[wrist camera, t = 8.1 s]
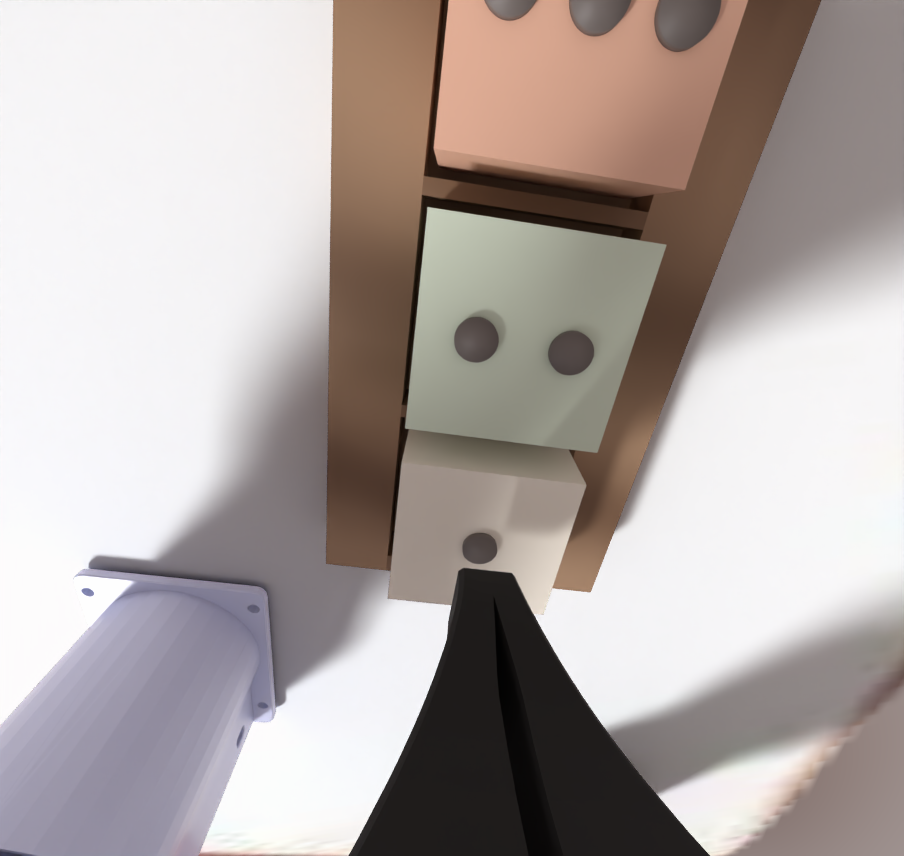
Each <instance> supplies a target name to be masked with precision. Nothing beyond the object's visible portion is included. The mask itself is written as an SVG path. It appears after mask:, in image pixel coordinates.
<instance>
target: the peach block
mask: <svg viewBox="0 0 904 856" xmlns="http://www.w3.org/2000/svg"><path fill="white" fill-rule="evenodd" d="M747 2H748V0H449V2H448V12H447V22H446V32H445V42H444V51H443V61H442V71H441V81H440V91H439V101H438V110H437V120H436V130H435V140H434V152H435V155H436V159H437V163H438V167H439V169H445V170H451V171H457V172H463V173H469V174H475V175H481V176H488V177H494V178H500V179H506V180H512V181H518V182H524V183H530V184H536V185H543V186H549V187H555V188H561V189H567V190H573V191H579V192H585V193H592V194H598V195H604V196H610V197H616V198H622V199H629V198H636V197H642V196H649V195H655V194H662V193H669V192H675V191H682V190H685V188H686V185H687V182H688V179H689V176H690V173H691V170H692V167H693V164H694V161H695V158H696V155H697V152H698V149H699V146H700V143H701V140H702V137H703V134H704V131H705V128H706V125H707V122H708V119H709V116H710V113H711V110H712V107H713V104H714V101H715V98H716V95H717V92H718V89H719V86H720V83H721V80H722V77H723V74H724V71H725V68H726V65H727V62H728V59H729V56H730V53H731V50H732V47H733V44H734V41H735V38H736V35H737V32H738V29H739V26H740V23H741V20H742V17H743V14H744V11H745V8H746V5H747Z"/></svg>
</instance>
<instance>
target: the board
mask: <svg viewBox="0 0 904 856" xmlns="http://www.w3.org/2000/svg"><path fill="white" fill-rule="evenodd" d="M448 2H449V0H333V70H332V148H331V226H330V304H329V382H328V460H327V538H326V564H333V565H342V566H351V567H361V568H370V569H379V570H388V571H391V562H392V552H393V542H394V532H395V522H396V513H397V503H398V493H399V483H400V473H401V464H402V458H403V454H404V449H405V445H406V440H407V436H408V431H409V429H405V424H406V415H407V405H408V395H409V385H410V375H411V365H412V356H413V346H414V336H415V326H416V316H417V307H418V297H419V287H420V277H421V267H422V258H423V248H424V238H425V228H426V218H427V208H428V207H431V208H437V209H444V210H450V211H456V212H463V213H469V214H475V215H482V216H488V217H494V218H501V219H507V220H513V221H520V222H526V223H532V224H539V225H545V226H551V227H558V228H564V229H570V230H577V231H583V232H589V233H596V234H602V235H608V236H615V237H621V238H627V239H634V240H640V241H646V242H653V243H659V244H665V245H666V248H665V251H664V254H663V257H662V260H661V263H660V266H659V269H658V272H657V275H656V278H655V281H654V284H653V287H652V290H651V293H650V296H649V299H648V302H647V305H646V308H645V311H644V314H643V317H642V320H641V323H640V326H639V329H638V332H637V335H636V338H635V341H634V344H633V347H632V350H631V353H630V356H629V359H628V362H627V365H626V368H625V371H624V374H623V377H622V380H621V383H620V386H619V389H618V392H617V395H616V398H615V401H614V404H613V407H612V410H611V413H610V416H609V419H608V422H607V425H606V428H605V431H604V434H603V437H602V440H601V443H600V446H599V449H598V452H597V453H594V452H586V451H578V450H570V449H568V450H569V452H570V453H571V455H572V457H573V459H574V461H575V463H576V465H577V467H578V469H579V471H580V473H581V475H582V477H583V479H584V481H585V483H586V488H585V491H584V494H583V497H582V500H581V503H580V506H579V509H578V512H577V515H576V518H575V521H574V524H573V527H572V530H571V533H570V536H569V539H568V542H567V545H566V548H565V551H564V554H563V557H562V560H561V563H560V566H559V569H558V572H557V575H556V578H555V581H554V584H553V587H552V588H555V589H565V590H574V591H583V592H591V590H592V587H593V585H594V582H595V580H596V577H597V574H598V572H599V569H600V567H601V564H602V562H603V559H604V556H605V554H606V551H607V549H608V546H609V544H610V541H611V539H612V536H613V533H614V531H615V528H616V526H617V523H618V521H619V518H620V515H621V513H622V510H623V508H624V505H625V503H626V500H627V497H628V495H629V492H630V490H631V487H632V485H633V482H634V480H635V477H636V474H637V472H638V469H639V467H640V464H641V462H642V459H643V456H644V454H645V451H646V449H647V446H648V444H649V441H650V438H651V436H652V433H653V431H654V428H655V426H656V423H657V421H658V418H659V415H660V413H661V410H662V408H663V405H664V403H665V400H666V397H667V395H668V392H669V390H670V387H671V385H672V382H673V379H674V377H675V374H676V372H677V369H678V367H679V364H680V362H681V359H682V356H683V354H684V351H685V349H686V346H687V344H688V341H689V338H690V336H691V333H692V331H693V328H694V326H695V323H696V320H697V318H698V315H699V313H700V310H701V308H702V305H703V302H704V300H705V297H706V295H707V292H708V290H709V287H710V285H711V282H712V279H713V277H714V274H715V272H716V269H717V267H718V264H719V261H720V259H721V256H722V254H723V251H724V249H725V246H726V243H727V241H728V238H729V236H730V233H731V231H732V228H733V226H734V223H735V220H736V218H737V215H738V213H739V210H740V208H741V205H742V202H743V200H744V197H745V195H746V192H747V190H748V187H749V184H750V182H751V179H752V177H753V174H754V172H755V169H756V167H757V164H758V161H759V159H760V156H761V154H762V151H763V149H764V146H765V143H766V141H767V138H768V136H769V133H770V131H771V128H772V125H773V123H774V120H775V118H776V115H777V113H778V110H779V108H780V105H781V102H782V100H783V97H784V95H785V92H786V90H787V87H788V84H789V82H790V79H791V77H792V74H793V72H794V69H795V66H796V64H797V61H798V59H799V56H800V54H801V51H802V49H803V46H804V43H805V41H806V38H807V36H808V33H809V31H810V28H811V25H812V23H813V20H814V18H815V15H816V13H817V10H818V7H819V5H820V2H821V0H748V2H747V5H746V8H745V11H744V14H743V17H742V20H741V23H740V26H739V29H738V32H737V35H736V38H735V41H734V44H733V47H732V50H731V53H730V56H729V59H728V62H727V65H726V68H725V71H724V74H723V77H722V80H721V83H720V86H719V89H718V92H717V95H716V98H715V101H714V104H713V107H712V110H711V113H710V116H709V119H708V122H707V125H706V128H705V131H704V134H703V137H702V140H701V143H700V146H699V149H698V152H697V155H696V158H695V161H694V164H693V167H692V170H691V173H690V176H689V179H688V182H687V185H686V188H685V190H682V191H675V192H669V193H662V194H655V195H649V196H642V197H636V198H629V199H622V198H616V197H610V196H604V195H598V194H592V193H585V192H579V191H573V190H567V189H561V188H555V187H549V186H543V185H536V184H530V183H524V182H518V181H512V180H506V179H500V178H494V177H488V176H481V175H475V174H469V173H463V172H457V171H451V170H445V169H439V167H438V163H437V159H436V155H435V152H434V140H435V130H436V120H437V110H438V101H439V91H440V81H441V71H442V61H443V51H444V42H445V32H446V22H447V12H448Z"/></svg>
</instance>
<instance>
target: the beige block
mask: <svg viewBox="0 0 904 856" xmlns="http://www.w3.org/2000/svg"><path fill="white" fill-rule="evenodd" d="M585 488H586V483H585V481H584V479H583V477H582V475H581V473H580V471H579V469H578V467H577V465H576V463H575V461H574V459H573V457H572V455H571V453H570V452H569V450H568V449H562V448H554V447H546V446H539V445H531V444H523V443H515V442H507V441H499V440H491V439H484V438H476V437H468V436H460V435H452V434H444V433H437V432H429V431H421V430H413V429H409V431H408V436H407V440H406V445H405V449H404V454H403V458H402V464H401V473H400V483H399V493H398V503H397V513H396V522H395V532H394V542H393V552H392V562H391V572H390V581H389V591H388V599H397V600H406V601H416V602H426V603H435V604H445V605H452V601H453V596H454V590H455V585H456V580H457V575H458V571H459V570H461V569H462V568H471V569H480V570H490V571H499V572H509V573H512V574H513V575H514V576H515V578H516V580H517V582H518V584H519V586H520V588H521V590H522V592H523V595H524V597H525V599H526V601H527V603H528V605H529V606H530V608H531V610H532V612H533V614H541V615H543V614H544V611H545V608H546V605H547V602H548V599H549V596H550V593H551V590H552V587H553V584H554V581H555V578H556V575H557V572H558V569H559V566H560V563H561V560H562V557H563V554H564V551H565V548H566V545H567V542H568V539H569V536H570V533H571V530H572V527H573V524H574V521H575V518H576V515H577V512H578V509H579V506H580V503H581V500H582V497H583V494H584V491H585Z"/></svg>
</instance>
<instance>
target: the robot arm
mask: <svg viewBox="0 0 904 856" xmlns="http://www.w3.org/2000/svg"><path fill="white" fill-rule="evenodd" d="M74 584H75V587H76V590H77V593H78V596H79V598H80V601H81V604H82V607H83V610H84V613H85V616H86V619H87V622H88V625H89V628H88V629H87V630H86V632H85V633H84V634H83V635H82V636H81V637H80V638H79V639H78V640H77V641H76V643H75V644H74V645H73V646H72V647H71V648H70V649H69V650H68V651H67V652H66V654H65V655H64V656H63V657H62V658H61V659H60V660H59V661H58V662H57V664H56V665H55V666H54V667H53V668H52V669H51V670H50V671H49V672H48V673H47V675H46V676H45V677H44V678H43V679H42V680H41V681H40V682H39V683H38V684H37V686H36V687H35V688H34V689H33V690H32V691H31V692H30V693H29V694H28V696H27V697H26V698H25V699H24V700H23V701H22V702H21V703H20V704H19V705H18V707H17V708H16V709H15V710H14V711H13V712H12V713H11V714H10V715H9V716H8V718H7V719H6V720H5V721H4V722H3V723H2V724H1V725H0V856H198V855H199V853H200V850H201V848H202V845H203V843H204V840H205V838H206V836H207V833H208V831H209V828H210V826H211V823H212V821H213V818H214V816H215V813H216V811H217V808H218V806H219V803H220V801H221V799H222V796H223V794H224V791H225V789H226V786H227V784H228V781H229V779H230V776H231V774H232V771H233V769H234V766H235V764H236V761H237V759H238V757H239V754H240V752H241V749H242V747H243V744H244V742H245V739H246V737H247V734H248V732H249V729H250V727H251V724H252V722H253V721H255V722H269V721H271V720H273V718H274V715H275V712H276V705H275V691H274V677H273V663H272V648H271V634H270V620H269V606H268V595H267V592H266V591H265V590H264V589H263V588H261V587H258V586H250V585H240V584H231V583H221V582H211V581H202V580H192V579H183V578H173V577H163V576H154V575H144V574H134V573H125V572H115V571H106V570H96V569H83V570H81V571H80V572H79V573H78V574H77V575H76V576H75V577H74ZM349 856H710V855H709V854H708V853H707V852H706V851H705V850H704V849H703V847H702V846H701V845H700V844H699V843H698V842H697V841H696V840H695V839H694V838H693V837H692V835H691V834H690V833H689V832H688V831H687V830H686V829H685V827H684V826H683V825H682V824H681V823H680V821H679V820H678V819H677V818H676V817H675V816H674V814H673V813H672V812H671V811H670V810H669V808H668V807H667V806H666V805H665V804H664V803H663V801H662V800H661V799H660V798H659V797H658V795H657V794H656V793H655V792H654V791H653V790H652V788H651V787H650V786H649V785H648V784H647V782H646V781H645V780H644V779H643V778H642V776H641V775H640V774H639V773H638V771H637V770H636V769H635V768H634V766H633V765H632V764H631V762H630V761H629V760H628V759H627V757H626V756H625V755H624V753H623V752H622V751H621V750H620V748H619V747H618V746H617V744H616V743H615V742H614V740H613V739H612V738H611V736H610V735H609V733H608V732H607V731H606V729H605V728H604V727H603V725H602V724H601V723H600V721H599V720H598V718H597V717H596V716H595V714H594V713H593V711H592V710H591V708H590V707H589V705H588V704H587V702H586V701H585V699H584V698H583V697H582V695H581V693H580V692H579V690H578V689H577V687H576V686H575V684H574V683H573V681H572V680H571V678H570V676H569V675H568V673H567V672H566V670H565V668H564V667H563V665H562V664H561V662H560V660H559V659H558V657H557V655H556V653H555V652H554V650H553V648H552V647H551V645H550V643H549V641H548V640H547V638H546V636H545V634H544V633H543V631H542V629H541V627H540V625H539V624H538V622H537V620H536V618H535V616H534V614H533V612H532V610H531V608H530V606H529V605H528V603H527V601H526V599H525V597H524V595H523V592H522V590H521V588H520V586H519V584H518V582H517V580H516V578H515V576H514V575H513V574H512V573H509V572H499V571H490V570H480V569H471V568H462V569H461V570H459V571H458V575H457V580H456V585H455V590H454V596H453V601H452V606H451V611H450V616H449V621H448V634H447V641H446V644H445V647H444V650H443V653H442V656H441V659H440V661H439V664H438V667H437V670H436V673H435V676H434V679H433V681H432V684H431V686H430V689H429V691H428V694H427V697H426V699H425V701H424V704H423V706H422V709H421V711H420V713H419V716H418V718H417V720H416V723H415V725H414V727H413V729H412V732H411V734H410V736H409V738H408V740H407V743H406V745H405V747H404V749H403V751H402V753H401V756H400V758H399V760H398V762H397V764H396V766H395V768H394V770H393V772H392V774H391V776H390V778H389V780H388V782H387V784H386V786H385V788H384V790H383V792H382V794H381V796H380V798H379V800H378V802H377V803H376V805H375V807H374V809H373V811H372V813H371V815H370V817H369V819H368V821H367V823H366V825H365V827H364V828H363V830H362V832H361V834H360V836H359V838H358V840H357V841H356V843H355V845H354V847H353V849H352V851H351V852H350V854H349Z"/></svg>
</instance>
